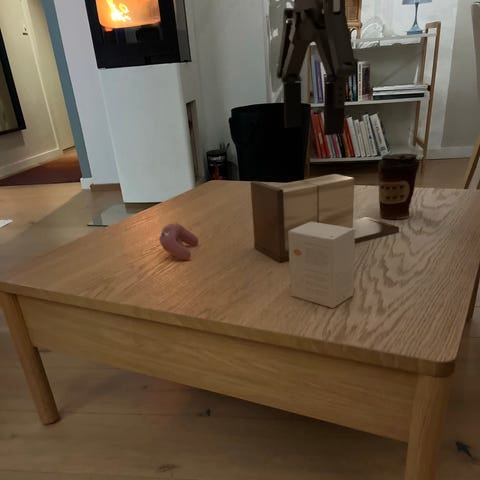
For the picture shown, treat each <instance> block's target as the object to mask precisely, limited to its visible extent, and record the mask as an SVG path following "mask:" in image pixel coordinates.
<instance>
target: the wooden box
mask: <svg viewBox="0 0 480 480" xmlns="http://www.w3.org/2000/svg"><path fill="white" fill-rule="evenodd" d="M250 196H251V197H250V198H251V212H252V225H253V240H254V241H253V242H254V244H253V248H254V249H255V250H256V251H258V252H259V253H262V254H264V255H265V256H267V257H269V258H270V259H271V260H274V261H276V262H278V263H284V262H285V263H286V262H289V240H288V231H289V230H292V229H294V228H296V227H299V226H301V225H304V224H306V223H309V222H317V223H323V224H329V225H335V226H341V227H347V228H354V229H355V244H358V243H362V242H365V241H369V240H374V239H377V238H381V237H385V236H388V235H392V234H396V233H399V232H400V226H398V225H397V226H396V225H393V224H390V223H387V222H384V221H381V220H378V219H375V218H371V217H369V216H365V217H361V218H355V219H354V204H355V202H354V201H355V177H351V176H346V175H342V174H338V173H333V174H327V175H322V176H318V177H317V176H316V177H312V178H307V179H301V180H297V181H291V182H284V183H280V184H275V185H270V184H266V183H264V182H261V181H258V180H253V181H250Z"/></svg>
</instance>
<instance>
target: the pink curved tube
mask: <svg viewBox="0 0 480 480" xmlns="http://www.w3.org/2000/svg"><path fill="white" fill-rule="evenodd" d="M158 238H159V243H160V245H161V247H162V248H163V249H164V250H165V252H167V253H169V254H171V255H172V256H174V257H175V258H177V259H178V260H179V259H180V260H183V261H189V260H190V259H191V257H192V254H191V251H190V250H189V249H188V248H187V247H185V245H184V244H186V245H188V246H194V247H197V246H198V245H199V238H198V237H197V236H196V234H194V233H192V232H191V231H190V230H187V229H186V228H185V227H184V226H183V225H181V224H179V223H178V221H177V222H175V223H169V224H167V225H166V226H164V227H163V228H162V230H161V235H160V236H159V237H158Z"/></svg>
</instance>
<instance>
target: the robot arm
mask: <svg viewBox="0 0 480 480" xmlns="http://www.w3.org/2000/svg"><path fill="white" fill-rule="evenodd" d="M293 1H294V2H293V7H285V8H283V12H282V13H283V14H282V17H283V18H282V33H281V39H280V47H279V54H278V61H277V67H276V78H277V80H278V79H280V80H281V83H282V84H283V115H284V117H283V119H284V120H283V121H284V123H283V124H284V128H285V129H290V128H297V127H298V128H300V127H302V126H303V125H302V81H303V79H302V77H301V75H300V74H301V71H302V68H303V65H304V63H305V62H304V61H305V58H306V56H307V51H308V48H309V46H310V44H312V43H313V42H314V44H315V46H316V49H317V52H318V55H319V58H320V62H321V64H322V66H323V69H324V72H325V75H326V76H324V80H323V84H324V85H323V88H324V89H323V106H324V107H323V136H334V135H341V134H344V133H345V105H346V84H347V83H346V82H347V81H348V80H349V78H350V77H351V76H356V74H357V63H356V59H355V53H354V50H353V44H352V38H351V35H350V30H349V24H348V20H347V15H346V0H293Z"/></svg>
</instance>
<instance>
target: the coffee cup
mask: <svg viewBox="0 0 480 480" xmlns="http://www.w3.org/2000/svg"><path fill="white" fill-rule="evenodd" d="M417 157H418V154H415V153H394V154H393V153H392V154H385V155H382V157H381V160H380V161H379V162H378V166H377V167H378V169H377V170H378V203H379V204H378V205H379V216H380V217H381V218H385V219H393V220H394V219H395V220H397V219H398V220H399V219H407V218H409V217H411V216H410V215H411V213H410V205H411V203H412V198H413V196H414V194H415V193H414V192H415V187H416V179H417V173H418V171H419V168H420V164H421V163H420V160H419V159H417Z"/></svg>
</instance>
